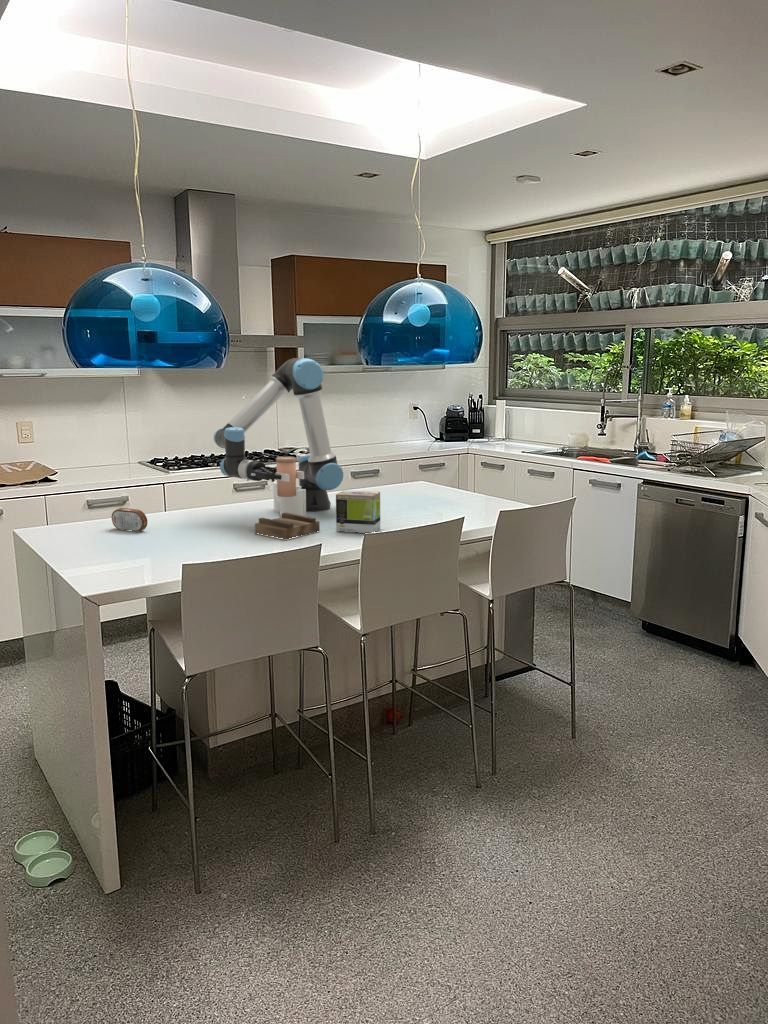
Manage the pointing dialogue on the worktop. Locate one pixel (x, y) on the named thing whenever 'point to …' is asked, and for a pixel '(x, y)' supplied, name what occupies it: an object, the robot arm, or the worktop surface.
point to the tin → (129, 519)
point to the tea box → (358, 511)
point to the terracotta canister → (289, 467)
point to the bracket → (290, 502)
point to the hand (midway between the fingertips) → (296, 476)
